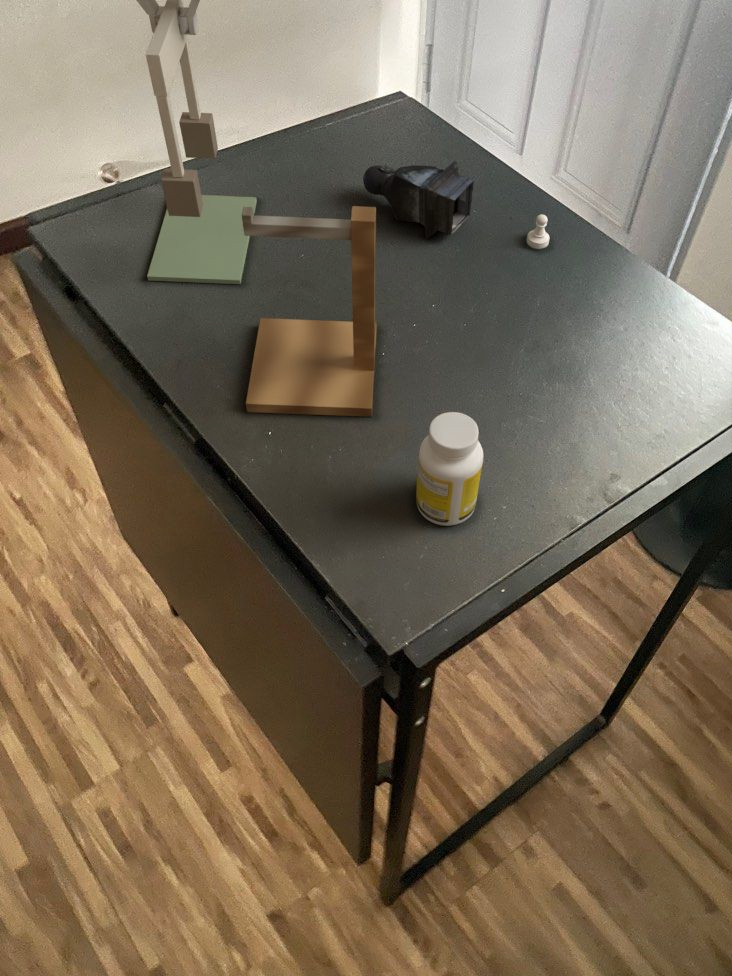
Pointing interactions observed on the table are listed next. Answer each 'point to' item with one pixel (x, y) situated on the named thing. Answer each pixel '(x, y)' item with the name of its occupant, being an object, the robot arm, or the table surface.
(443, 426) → the supplement bottle
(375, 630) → the table surface
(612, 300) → the table surface
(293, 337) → the stand
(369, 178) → the dark knob-ended part
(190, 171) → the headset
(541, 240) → the chess pawn
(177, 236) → the mat
